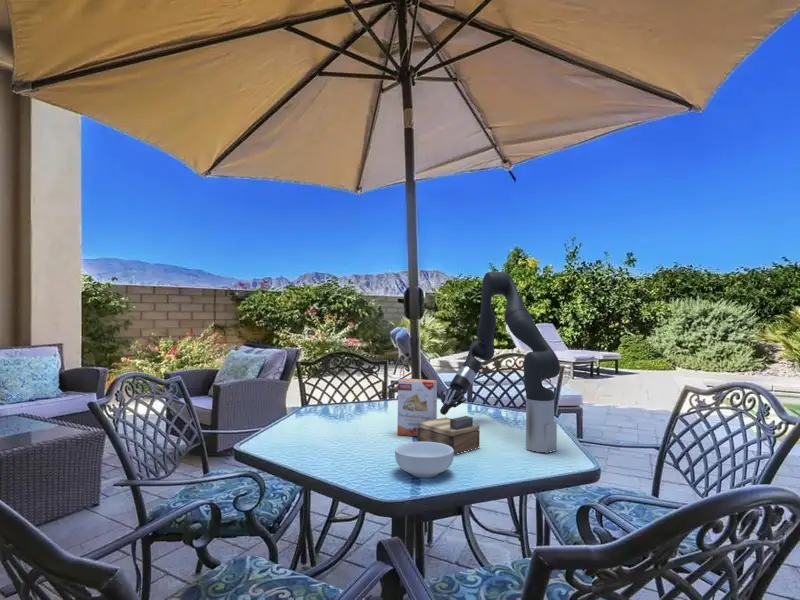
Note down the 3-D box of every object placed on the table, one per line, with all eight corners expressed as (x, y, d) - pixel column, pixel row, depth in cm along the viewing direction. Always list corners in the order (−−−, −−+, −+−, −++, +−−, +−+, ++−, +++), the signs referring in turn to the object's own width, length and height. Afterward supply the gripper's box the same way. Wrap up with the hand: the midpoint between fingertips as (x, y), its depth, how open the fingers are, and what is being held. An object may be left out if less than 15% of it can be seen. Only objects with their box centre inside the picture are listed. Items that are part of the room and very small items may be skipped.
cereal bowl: (449, 463, 144) (449, 440, 145) (457, 483, 128) (458, 457, 128) (394, 463, 144) (394, 440, 144) (395, 483, 127) (395, 457, 127)
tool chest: (479, 448, 161) (479, 430, 162) (451, 456, 152) (451, 437, 152) (445, 438, 173) (445, 422, 174) (417, 445, 164) (417, 427, 164)
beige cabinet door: (479, 429, 162) (479, 416, 162) (451, 436, 152) (451, 422, 153) (445, 421, 174) (445, 409, 174) (417, 427, 164) (417, 414, 165)
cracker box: (396, 435, 177) (397, 379, 178) (401, 431, 183) (402, 377, 183) (432, 439, 173) (433, 381, 173) (437, 435, 178) (437, 379, 179)
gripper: (447, 372, 199) (426, 404, 190) (471, 375, 189) (449, 410, 180) (455, 383, 202) (435, 416, 194) (479, 387, 192) (459, 422, 184)
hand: (442, 413), depth 187 cm, fingers closed
